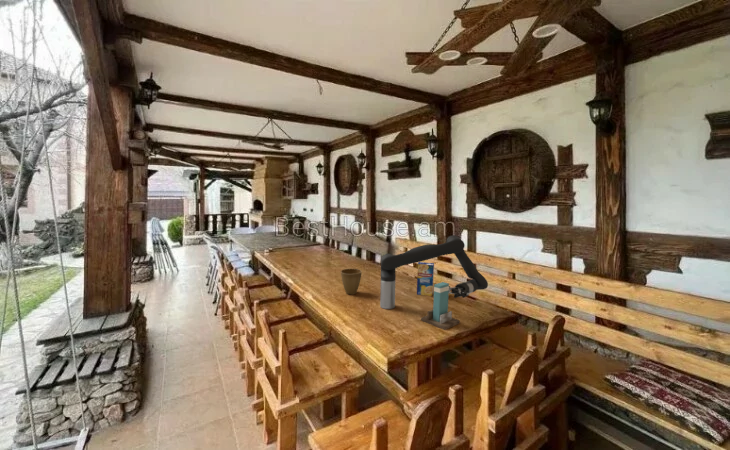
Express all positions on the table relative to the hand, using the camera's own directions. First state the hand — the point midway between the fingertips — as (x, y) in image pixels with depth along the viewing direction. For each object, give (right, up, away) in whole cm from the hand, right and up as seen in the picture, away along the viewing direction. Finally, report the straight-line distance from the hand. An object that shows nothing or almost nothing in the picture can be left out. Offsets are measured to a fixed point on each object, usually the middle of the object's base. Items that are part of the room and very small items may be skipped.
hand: (448, 294), depth 178 cm
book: (-5, -13, -2) cm, 15 cm away
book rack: (-5, -15, -3) cm, 16 cm away
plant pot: (-57, -10, +46) cm, 74 cm away
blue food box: (-4, -10, +47) cm, 48 cm away
